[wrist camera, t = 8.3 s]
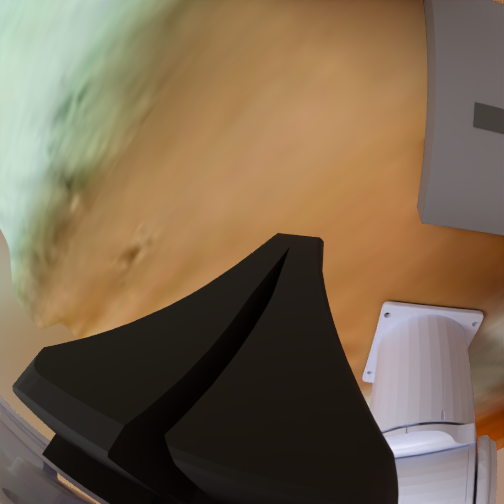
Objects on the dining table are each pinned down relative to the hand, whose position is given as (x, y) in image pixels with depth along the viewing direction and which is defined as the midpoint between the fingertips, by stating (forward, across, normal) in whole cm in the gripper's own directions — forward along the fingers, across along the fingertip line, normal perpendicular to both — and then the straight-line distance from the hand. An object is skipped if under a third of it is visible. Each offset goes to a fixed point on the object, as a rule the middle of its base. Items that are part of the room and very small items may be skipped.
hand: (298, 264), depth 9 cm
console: (+9, -16, -4) cm, 19 cm away
